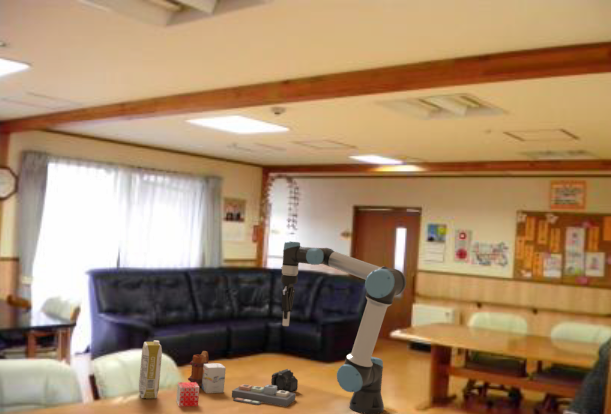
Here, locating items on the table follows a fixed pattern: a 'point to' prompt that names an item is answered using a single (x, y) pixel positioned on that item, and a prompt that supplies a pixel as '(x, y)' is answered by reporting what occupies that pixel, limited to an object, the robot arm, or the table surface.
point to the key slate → (270, 389)
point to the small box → (187, 394)
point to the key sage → (257, 389)
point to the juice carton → (150, 369)
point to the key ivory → (282, 393)
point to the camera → (285, 380)
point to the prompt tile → (247, 401)
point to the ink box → (213, 378)
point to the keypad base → (263, 397)
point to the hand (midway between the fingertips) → (285, 325)
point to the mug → (198, 367)
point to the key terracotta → (245, 387)
